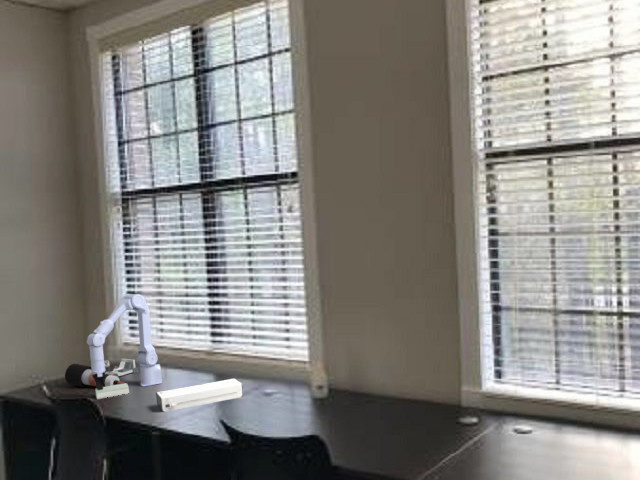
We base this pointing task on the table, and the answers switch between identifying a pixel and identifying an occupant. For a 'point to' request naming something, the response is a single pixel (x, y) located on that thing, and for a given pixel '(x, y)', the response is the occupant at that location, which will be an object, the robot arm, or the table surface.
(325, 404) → the table surface
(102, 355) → the robot arm
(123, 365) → the phone holder
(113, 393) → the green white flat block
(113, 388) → the cover
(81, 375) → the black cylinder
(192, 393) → the laminator
